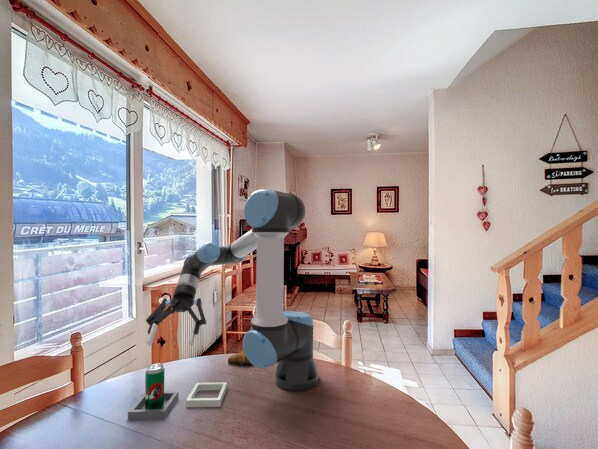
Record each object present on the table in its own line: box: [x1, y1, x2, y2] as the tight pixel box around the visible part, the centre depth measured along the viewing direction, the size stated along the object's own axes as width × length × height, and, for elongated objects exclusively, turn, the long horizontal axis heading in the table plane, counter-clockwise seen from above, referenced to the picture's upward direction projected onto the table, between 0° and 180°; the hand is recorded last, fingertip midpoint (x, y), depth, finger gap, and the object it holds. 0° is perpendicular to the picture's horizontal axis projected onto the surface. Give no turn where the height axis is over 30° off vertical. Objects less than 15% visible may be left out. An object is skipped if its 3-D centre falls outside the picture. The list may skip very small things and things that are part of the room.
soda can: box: [144, 363, 166, 410], centre depth 85 cm, size 5×5×12 cm
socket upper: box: [127, 391, 179, 420], centre depth 85 cm, size 10×10×2 cm
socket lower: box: [185, 381, 228, 408], centre depth 91 cm, size 10×10×2 cm
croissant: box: [227, 350, 253, 366], centre depth 115 cm, size 14×7×5 cm, turn 92°
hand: (169, 343), depth 96 cm, fingers open, 13 cm apart
